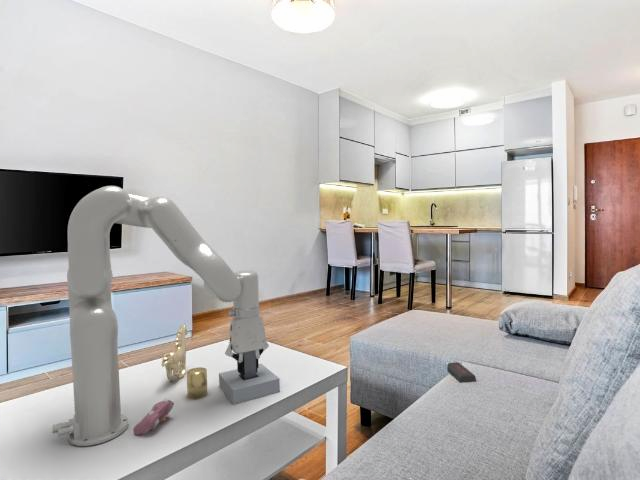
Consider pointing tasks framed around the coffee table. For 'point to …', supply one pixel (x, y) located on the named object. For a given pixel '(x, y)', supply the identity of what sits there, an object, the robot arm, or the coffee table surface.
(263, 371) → the socket block
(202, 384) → the round bit
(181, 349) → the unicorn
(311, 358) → the coffee table surface
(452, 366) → the usb drive
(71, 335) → the robot arm
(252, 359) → the square bit
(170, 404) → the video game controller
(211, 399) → the coffee table surface
